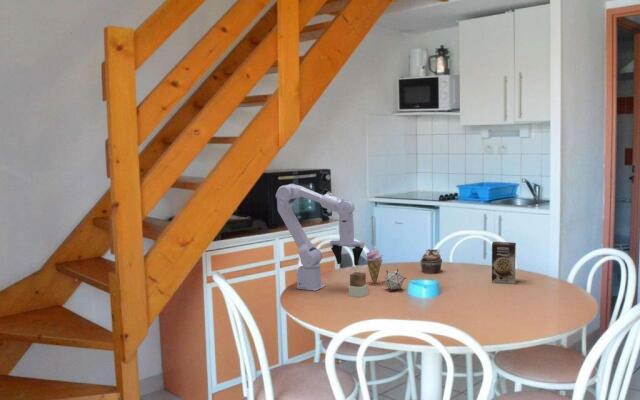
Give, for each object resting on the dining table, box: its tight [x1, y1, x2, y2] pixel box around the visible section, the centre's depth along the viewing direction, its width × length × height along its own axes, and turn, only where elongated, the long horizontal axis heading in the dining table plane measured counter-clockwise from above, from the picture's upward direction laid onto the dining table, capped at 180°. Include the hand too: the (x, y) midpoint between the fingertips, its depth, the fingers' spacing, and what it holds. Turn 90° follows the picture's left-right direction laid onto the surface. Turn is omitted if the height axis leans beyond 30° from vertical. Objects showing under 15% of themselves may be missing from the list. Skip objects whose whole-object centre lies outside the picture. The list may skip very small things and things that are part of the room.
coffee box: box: [491, 241, 517, 285], centre depth 236 cm, size 9×6×16 cm
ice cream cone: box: [366, 247, 383, 285], centre depth 240 cm, size 7×6×15 cm
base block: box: [348, 283, 369, 298], centre depth 225 cm, size 6×6×4 cm
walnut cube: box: [349, 271, 367, 287], centre depth 225 cm, size 4×4×4 cm
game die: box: [381, 268, 407, 292], centre depth 230 cm, size 9×8×10 cm
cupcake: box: [419, 248, 443, 275], centre depth 258 cm, size 10×10×10 cm
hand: (347, 264), depth 232 cm, fingers open, 7 cm apart
